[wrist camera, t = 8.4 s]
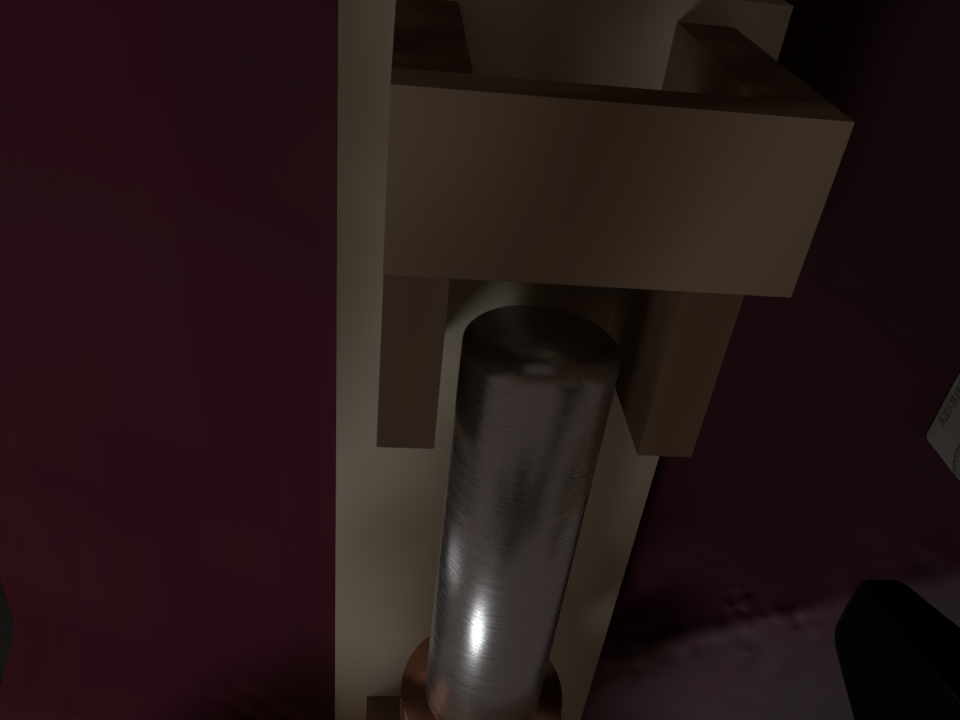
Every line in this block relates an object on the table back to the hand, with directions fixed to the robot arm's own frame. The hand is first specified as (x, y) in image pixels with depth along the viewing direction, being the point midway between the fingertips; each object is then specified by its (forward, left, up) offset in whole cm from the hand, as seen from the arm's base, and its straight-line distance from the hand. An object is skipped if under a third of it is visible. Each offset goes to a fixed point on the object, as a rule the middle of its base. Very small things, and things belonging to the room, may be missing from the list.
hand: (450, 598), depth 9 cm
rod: (-2, +12, -11) cm, 17 cm away
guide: (-3, +9, -12) cm, 16 cm away
